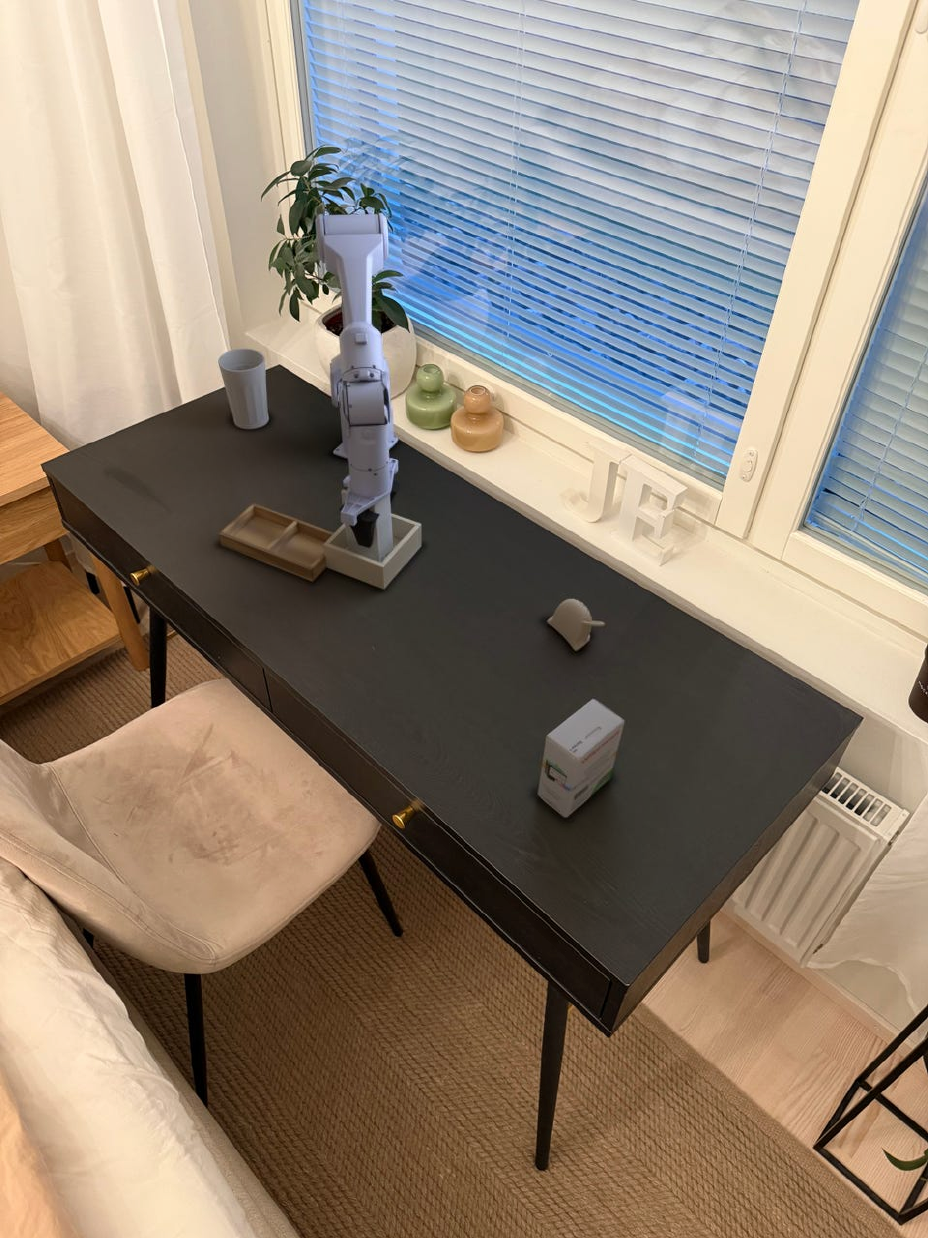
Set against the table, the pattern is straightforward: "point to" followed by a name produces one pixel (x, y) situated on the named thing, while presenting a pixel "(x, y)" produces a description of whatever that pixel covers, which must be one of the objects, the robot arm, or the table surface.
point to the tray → (278, 541)
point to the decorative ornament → (573, 622)
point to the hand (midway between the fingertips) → (372, 534)
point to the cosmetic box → (381, 532)
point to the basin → (368, 569)
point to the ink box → (579, 757)
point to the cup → (245, 386)
